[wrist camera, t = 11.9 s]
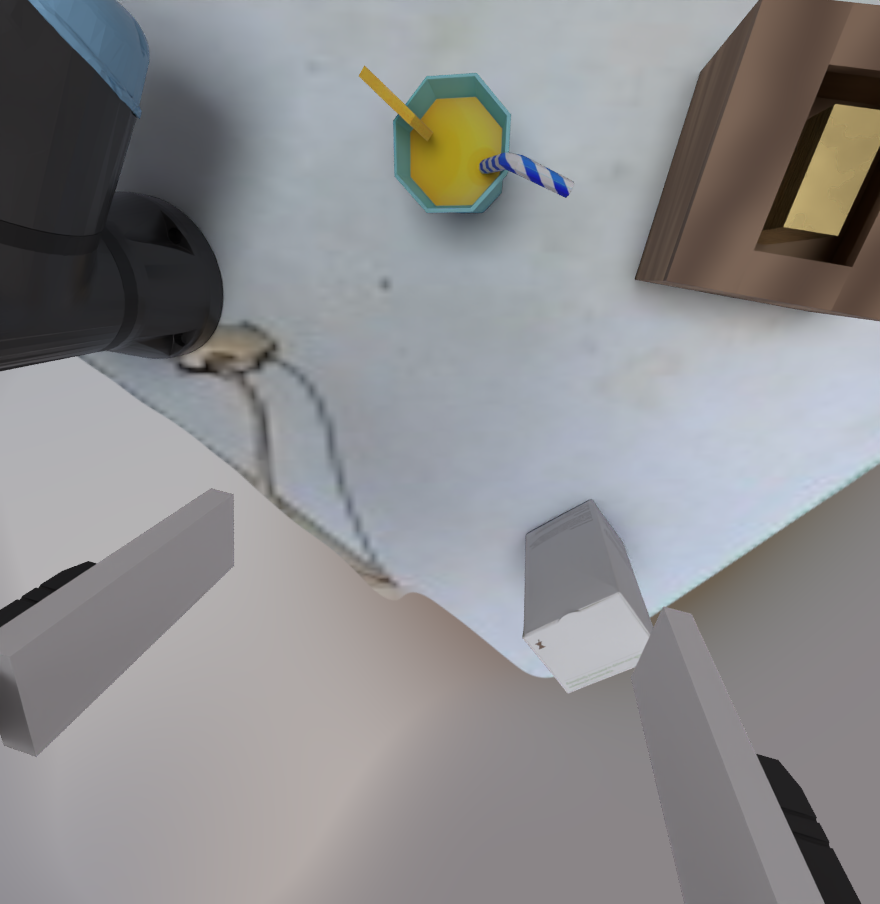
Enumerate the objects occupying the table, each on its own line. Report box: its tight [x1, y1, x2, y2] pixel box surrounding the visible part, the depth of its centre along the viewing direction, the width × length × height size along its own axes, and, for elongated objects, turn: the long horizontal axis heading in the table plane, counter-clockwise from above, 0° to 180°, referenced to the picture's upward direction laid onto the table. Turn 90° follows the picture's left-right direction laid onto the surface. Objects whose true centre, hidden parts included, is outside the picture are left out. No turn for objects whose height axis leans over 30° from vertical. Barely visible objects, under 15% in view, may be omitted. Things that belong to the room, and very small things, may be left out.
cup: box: [359, 66, 574, 213], centre depth 31 cm, size 14×8×15 cm, turn 67°
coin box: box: [635, 0, 880, 321], centre depth 30 cm, size 14×14×10 cm
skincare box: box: [522, 499, 653, 693], centre depth 40 cm, size 8×7×16 cm
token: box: [757, 104, 880, 245], centre depth 30 cm, size 3×6×9 cm, turn 170°
